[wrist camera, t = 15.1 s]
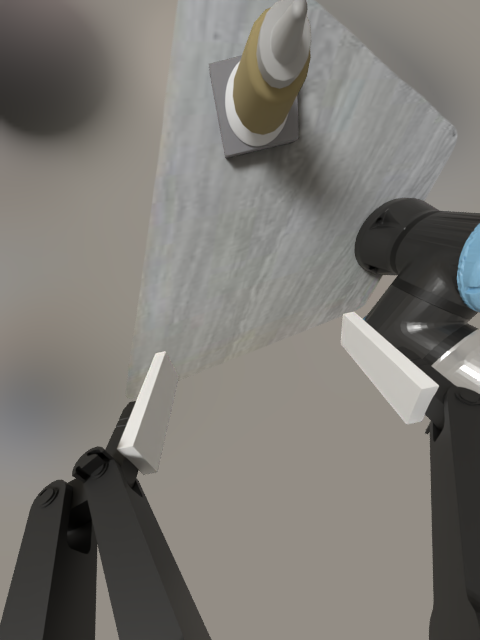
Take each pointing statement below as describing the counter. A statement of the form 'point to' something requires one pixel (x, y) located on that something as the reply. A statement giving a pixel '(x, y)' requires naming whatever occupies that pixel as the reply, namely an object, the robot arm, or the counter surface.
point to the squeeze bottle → (273, 66)
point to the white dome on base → (231, 127)
